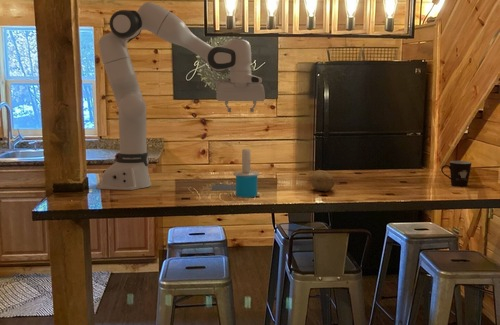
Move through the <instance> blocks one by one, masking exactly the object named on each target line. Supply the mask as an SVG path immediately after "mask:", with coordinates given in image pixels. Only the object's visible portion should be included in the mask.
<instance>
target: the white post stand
mask: <svg viewBox="0 0 500 325" xmlns="http://www.w3.org/2000/svg"><path fill="white" fill-rule="evenodd" d="M241 153H242V154H241V165H242V167H241V169H242V170H237V171H234V172H233V173H232V174H233V176H235V177H236V176H241V177H252V176H257V177H258V176H260V172H258V171H255V170H251V149H248V148H247V149H242V150H241Z"/></svg>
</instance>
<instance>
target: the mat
mask: <svg viewBox="0 0 500 325" xmlns="http://www.w3.org/2000/svg"><path fill="white" fill-rule="evenodd" d="M212 191H219V192H220V191H221V192H222V191H236V184H212V186H211V192H212Z"/></svg>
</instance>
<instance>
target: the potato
mask: <svg viewBox="0 0 500 325" xmlns="http://www.w3.org/2000/svg"><path fill="white" fill-rule="evenodd" d="M334 178H335V177H333V175H332V174H331V173H329V172H327V171H325V170H322V169H318V170H315V171H314V172H313V173H312V174H311V177H310V184H311V186H312V188H313V189H314V190H316V191H318V192H328V191H331V190H332V189H333V187H334V186H335V179H334Z"/></svg>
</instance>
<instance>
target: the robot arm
mask: <svg viewBox="0 0 500 325" xmlns="http://www.w3.org/2000/svg"><path fill="white" fill-rule="evenodd" d="M109 28H110V30H111V31H110V32H107V33H106V34H103V35H102V36H101V37H100V38H99V39H98V48H99V53H100V57H101V61H102V64H103V67H104V70H105V74H106V76H107V79H108V82H109V85H110V88H111V91H112V93H113V97H114V99H115V102H116V105H117V108H118V109H117V112H118V113H117V114H118V132H119V134H118V137H119V152H116V154H115V156H114V159H115V162H114V163H112V165H110V166H109V167H108V168H106V170H104V171H103V174H102V176H101V177H102V178H101V181H100V182H98V183H97V184H96V188H97V189H98V190H120V191H122V190H124V191H133V190H137V189H145V188H149V187H151V186H152V185H153V184H152V181H151V179H150V174H149V152H148V150H147V148H148V145H147V144H148V143H147V104H146V101H145V99H144V97H143V93H142V92H141V87H140V85H139V81H138V77H137V75H136V70H135V68H134V66H133V63H132V59H131V56H130V53H129V50H128V45H127V44H128V43H129V42H131V41H132V40H134V39H135V38H137V37H138V36H139V35H140V33H141V32H142V31H143V30H144V31H148V32H150V33H152V34H153V35H155V36H156V37H158V38H160V39H162V40H163V41H166V42H168V43H171V44H173V45H176V46H181V47H182V48H185V49H187V50H188V51H190V52H191V53H193V54H195V55H197V56H198V57H199V58H201V59H203V60H204V62H206V64H207V65H208V67H209V68H210V69H211V70H212V71H214V72H216V73H222V72H225V71H226V70H229V78H218V79H217V80H216V81H215V89H216V94H215V95H216V96H215V97H216V100H217V102H224V105H225V107H226V108H227V113H231V112H232V107H229V105H228V104H229V102H252V105H253V106H252V107H249V112H250V113H254V112H255V108H256V105H257V102H264V101H265V99H266V96H265V95H266V94H265V87H264V85H263V84H262V81H263V78H262V77H261V76H260V77H259V76H257V75H253V74H252V68H251V63H252V47H251V43H250V42H249V41H248V40H246V39H244V38H239V37H238V38H237V37H233V38H232V39H230V40H229V41H227V42H225V43H224V44H221V45H217V46H212V45H210V44H208V43H207V42H205V41H204V40H202V39H201V38H199V37H198V36H196V35H195V34H194V33H193V32H192V31H191V30H190V28H189V27H188V26H187V24H186V23H185V22H184V21H183V20H182V19H181V18H180V17H178V16H177V15H176V14H174V13H173V12H171V11H169V10H168V9H167V8H164V7H163V6H160V5H158V4H156V3H154V2H151V1H146V2H144V3H143V4H142V5H141V6H140V7H139V8H138V10H137V11H136V10H131V9H121V10H117V11H115V12H114V13H113V14H112V15H111V17H110V18H109Z"/></svg>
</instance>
